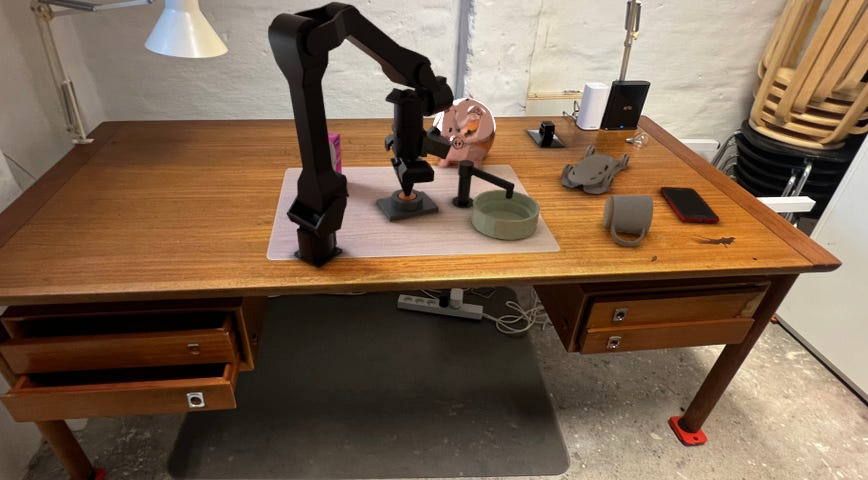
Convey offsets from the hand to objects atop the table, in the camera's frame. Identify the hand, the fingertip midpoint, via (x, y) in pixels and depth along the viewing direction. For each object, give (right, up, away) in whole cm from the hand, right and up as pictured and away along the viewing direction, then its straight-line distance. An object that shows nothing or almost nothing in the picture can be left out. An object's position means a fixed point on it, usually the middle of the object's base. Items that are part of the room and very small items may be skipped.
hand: (407, 195), depth 106 cm
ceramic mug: (+44, -8, -4) cm, 45 cm away
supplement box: (-19, +4, +10) cm, 21 cm away
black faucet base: (+12, -1, +4) cm, 13 cm away
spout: (+16, +1, -2) cm, 16 cm away
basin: (+20, -6, -2) cm, 21 cm away
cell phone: (+62, -2, +6) cm, 62 cm away
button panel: (0, -2, +2) cm, 3 cm away
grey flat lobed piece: (+45, +7, +17) cm, 48 cm away
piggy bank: (+13, +12, +22) cm, 28 cm away
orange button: (0, -1, +1) cm, 2 cm away
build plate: (+38, +21, +36) cm, 57 cm away
